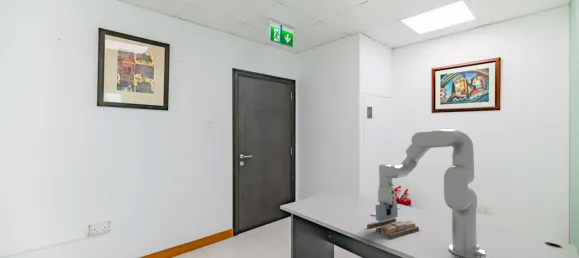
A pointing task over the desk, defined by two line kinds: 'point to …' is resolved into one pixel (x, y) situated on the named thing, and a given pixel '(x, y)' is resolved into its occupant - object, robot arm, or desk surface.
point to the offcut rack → (394, 232)
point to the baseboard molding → (375, 211)
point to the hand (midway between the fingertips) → (386, 214)
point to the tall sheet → (385, 212)
